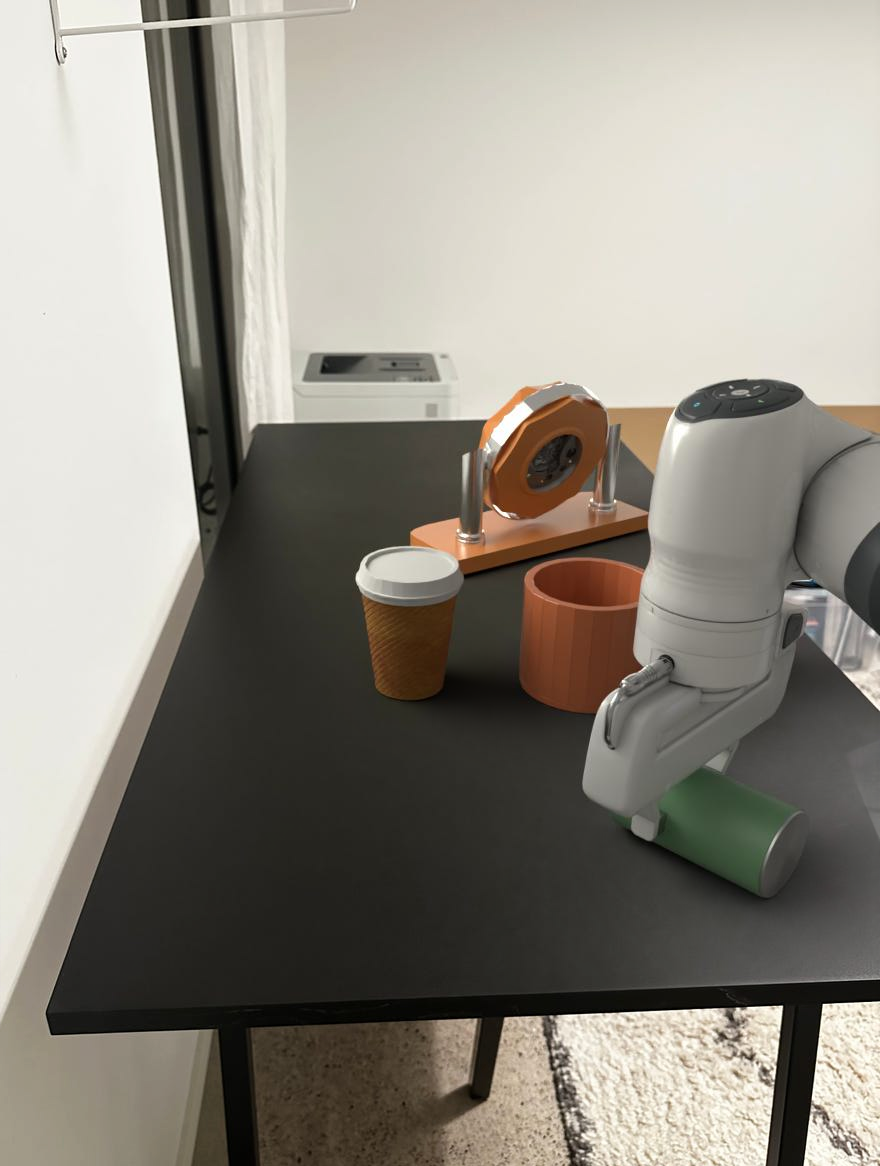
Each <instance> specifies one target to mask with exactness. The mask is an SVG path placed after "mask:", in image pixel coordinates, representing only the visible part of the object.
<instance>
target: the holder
mask: <svg viewBox="0 0 880 1166" xmlns="http://www.w3.org/2000/svg"><path fill="white" fill-rule="evenodd" d="M645 570H646V569H643V568H641V567H639V566H636V565H633V564H630V563H627V562H624V561H618V560H614V559H607V558H599V557H566V558H557V559H553V560H548V561H544V562H542V563H540V564H537V565H535V566H533V567H532V568H531V569H529V570H528V571H527V572H526V574H525V576H524V579H523V593H522V613H521V615H522V616H521V631H520V632H521V633H520V646H519V663H518V664H519V665H518V672H519V673H518V680H519V684H520V686H521V687H522V689H523V690H524V691H525V693H527V695H529V696H530V697H532V698H533V699H535V700H536V701H537V702H540V703H542V704H544V705H547V706H548V707H549V706H550V707H552V708H555V709H558V710H561V711H566V712H571V713H572V712H573V713H579V714H597V712H598V710H599V707H600V705H601V704H602V702H603V701H604V699H605V698H606V697H607V696H608V695H609V694H610V693H611V692H613V691H614V690H616V689H617V688H619V684H620V682H621V681H622V680H623V679H624V678H625V677H627V676H628V675H630V674H633V673H637V672H639V671H640V670H641V669H642V668H644V667H643V666H642V665H641V664H640V663H639V662H638V661H637V659H636V658H635V656H634V653H633V646H634V637H635V629H636V620H637V611H638V603H639V595H640V586H641V580H642V577H643V574H644V572H645Z"/></svg>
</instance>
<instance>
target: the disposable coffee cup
mask: <svg viewBox="0 0 880 1166" xmlns="http://www.w3.org/2000/svg"><path fill="white" fill-rule="evenodd" d="M464 581H465V577H464V575H463V574H462V572H461V571H460V568H459V564H458V561H457V559H456V558H455V557H453V556H452V555H450V554H449V553H446V552H444V551H441V550H437V549H433V548H428V547H419V546H410V545H402V546H391V547H386V548H383V549H382V548H381V549H377V550H375V551H372V552H370V553H368V554H367V555H366V556H364V557H363V559H362V560H361V562H360V566H359V570H358V571H357V572H356V573H355V583H356V585H357V586H358V589H359V591H360V593H361V597H362V606H363V611H364V618H365V624H366V631H367V637H368V639H367V640H368V644H369V652H370V658H371V664H372V673H373V679H374V686H375V689H377V691H378V692H379V693H381V695H384V696H386V697H389V698H391V699H394V700H395V699H396V700H401V701H417V700H423V699H427V698H430V697H433V696H434V695H436V694H438V693H439V692H440V691H442V689H443V686H444V681H445V674H446V668H447V661H448V656H449V650H450V644H451V637H452V631H453V626H454V625H453V624H454V619H455V613H456V607H457V599H458V594H459V592H460V591H461V587H462V585H463V584H464Z"/></svg>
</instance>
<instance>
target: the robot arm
mask: <svg viewBox="0 0 880 1166" xmlns="http://www.w3.org/2000/svg"><path fill="white" fill-rule="evenodd" d="M654 471H655V472H654V477H653V481H652V482H653V483H652V488H651V496H650V502H649V503H650V504H649V511H648V512H649V517H648V528H647V530H648V535H649V541H650V555H649V560H648V563H647V565H646V567H645V569H644V570H645V572H644V574H643V577H642V580H641V586H640V595H639V603H638V611H637V620H636V629H635V637H634V646H633V653H634V656H635V658H636V659H637V661H638V662H639V663H640V664H641V665H642V666H643V667H644V668H642V669H641V670H640V671H639V672H637V673H633V674H630V675H628V676H627V677H625V678H624V679H623V680H622V681H621V682H620V684H619V688H617V689H616V690H614V691H613V692H611V693H610V694H609V695H608V696H607V697H606V698H605V699H604V701H603V702H602V704H601V705H600V707H599V710H598V712H597V713H596V715H595V717H594V721H593V725H592V728H591V733H590V738H589V743H588V748H587V753H586V758H585V764H584V770H583V776H582V790H583V792H584V794H585V795H586V797H587V798H588V800H589V801H591V802H592V803H593V804H596V805H597V806H599V807H601V808H603V809H605V810H607V811H608V810H609V811H611V812H613V813H615V814H617V815H619V816H622V817H625V818H630V817H632V824H631V829H632V831H631V832H632V833H633V834H634V835H635V836H637V837H639V838H641V839H643V840H645V841H647V842H652V840H653V839H654V838H656V837H657V836H658V835H659V834H660V833H662V832H663V831H664V829H665V825H664V824H665V822H666V817H667V813H665V812H663V811H661V810H659V808H658V802H660V801H662V799H663V794H665V793H666V792H667V791H669V790H670V789H672V788H673V787H674V786H676V785H677V784H678V783H680V782H681V781H683V780H684V779H685V778H687V777H688V776H690V775H691V774H692V773H694V772H695V771H696V770H698V769H699V768H701V767H702V766H705V767H707V768H710V769H712V770H714V771H716V772H719V773H721V774H723V775H725V776H726V771H727V769H728V768H729V766H730V764H731V762H732V760H733V757H734V755H735V754H736V752H737V749H738V747H739V745H740V741H741V739H742V738H743V737H745V736H747V735H748V734H749V733H750V732H752V731H753V730H755V729H756V728H758V727H759V726H760V725H761V724H763V723H764V722H766V721H767V720H769V719H770V718H772V717H773V716H774V715H775V713H776V712H777V710H778V708H779V707H780V705H781V703H782V701H783V699H784V696H785V694H786V690H787V688H788V687H787V686H788V683H789V681H790V676H791V672H792V667H793V663H794V659H795V656H796V655H795V653H796V650H797V649H796V648H797V640H799V639H800V638H801V637H802V636H803V635H804V633H805V631H806V628H807V623H808V618H809V611H808V609H806V608H805V607H802V606H800V605H797V604H794V603H792V602H789V601H786V600H784V599H785V592H786V590H787V588H788V587H789V586H790V585H791V584H792V583H794V582H799V581H800V582H801V581H811V580H812V581H814V583H816V584H817V585H819V586H820V587H822V588H823V589H824V590H826V591H827V592H829V593H830V594H832V595H833V596H835V597H836V598H837V599H839V600H840V601H841V602H843V603H844V604H846V606H848V607H849V608H850V609H851V610H852V612H853V613H855V614H856V615H857V617H858V618H860V619H861V620H862V621H863V622H864V623H865V624H866V625H867V626H868V627H870V629H872V630H873V631H874V632H875V633H876V634H877V635H878V636H879V637H880V433H878V432H875V431H873V430H871V429H867V428H864V427H861V426H858V425H855V424H852V423H850V422H848V421H846V420H844V419H842V418H841V417H838V416H836V415H834V414H833V413H831V412H829V411H827V410H825V409H824V408H823V407H821V406H819V405H818V404H816V403H815V402H814V401H812V400H811V399H810V398H808V395H806V393H805V391H804V390H803V389H802V388H801V387H799V386H798V385H796V384H794V383H791V382H788V381H784V380H779V379H775V378H765V377H764V378H739V379H738V378H737V379H730V380H723V381H719V382H715V383H712V384H708V385H705V386H703V387H700V388H698V389H696V390H695V391H693V392H692V393H689V394H688V395H686V396H685V397H684V398H682V400H680V402H678V404H677V405H676V407H675V408H674V410H673V412H672V414H671V415H670V417H669V420H668V421H667V424H666V427H665V430H664V432H663V436H662V439H661V443H660V446H659V451H658V456H657V461H656V466H655V470H654Z"/></svg>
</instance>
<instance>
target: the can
mask: <svg viewBox="0 0 880 1166" xmlns="http://www.w3.org/2000/svg"><path fill="white" fill-rule="evenodd" d="M658 808H659V810H661V811H663V812H665V813H667V817H666V822H665V824H664V825H665V829H664V831H663V832H662V833H660V834H659V835H658V836H657V837H656V838H654V839H653V840H652V841H651V842H652V843H654V844H656V845H658V846H660V847H662V848H665V849H666V850H668V851H670V852H673V853H674V854H676V855H678V856H680V857H682V858H684V859H686V860H687V861H689V862H692V863H694V864H696V865H697V866H699V867H702V868H704V869H705V870H707V871H710V872H711V873H713V874H715V875H717V876H719V877H721V878H723V879H724V880H727V881H729V882H731V883H733V884H735V885H737V886H739V887H740V888H742V889H745V890H747V891H749V892H750V893H752V894H754V895H756V896H758V897H760V898H765V899H770V898H773V897H774V896H776V895H777V894H778V893H779V892H780V891H781V890H782V889H783V888H784V887H785V886H786V884H787V883H788V881H789V880H790V878H791V877H792V875H793V873H794V872H795V870H796V868H797V866H798V864H799V862H800V859H801V858H802V855H803V852H804V849H805V846H806V844H807V840H808V835H809V831H810V818H809V814H807V812H806V811H805V810H804V809H802V808H800V807H799V806H797V805H793V804H792V803H789V802H787V801H784V800H782V799H780V798H777V797H775V796H773V795H771V794H769V793H766V792H764V791H762V790H760V789H757V788H755V787H752V786H751V785H748V784H746V783H743V782H741V781H739V780H737V779H734V778H732V777H730V776H729V775H726V774H725V775H723V774H721V773H719V772H716V771H714V770H712V769H710V768H707V767H705V766H702V767H701V768H699V769H698V770H696V771H695V772H694V773H692V774H691V775H690V776H688V777H687V778H685V779H684V780H683V781H681V782H680V783H678V784H677V785H676V786H674V787H673V788H672V789H670V790H669V791H667V792H666V793H665V794H663V799H662V801H660V802H658ZM607 813H608V816H609V818H611V820H612V822H613V823H615V824H617V825H619V826H621V827H622V828H625V829H627V830H629V831H630V832H633V831H632V829H631V824H632V817H630V818H625V817H622V816H619V815H617V814H615V813H613V812H611V811H609V810H607Z"/></svg>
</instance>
